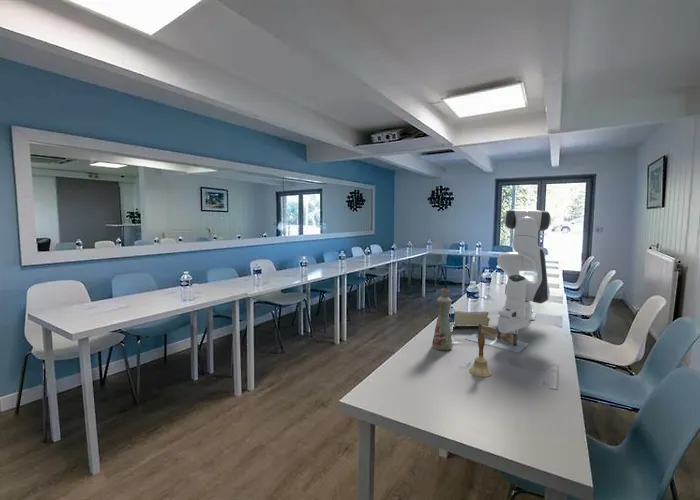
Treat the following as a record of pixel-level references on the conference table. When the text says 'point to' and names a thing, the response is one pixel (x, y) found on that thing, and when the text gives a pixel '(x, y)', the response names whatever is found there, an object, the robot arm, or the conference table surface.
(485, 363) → the hand bell
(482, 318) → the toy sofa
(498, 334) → the fence fixed
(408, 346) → the conference table surface
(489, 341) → the card
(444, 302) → the bottle
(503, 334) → the fence flap
